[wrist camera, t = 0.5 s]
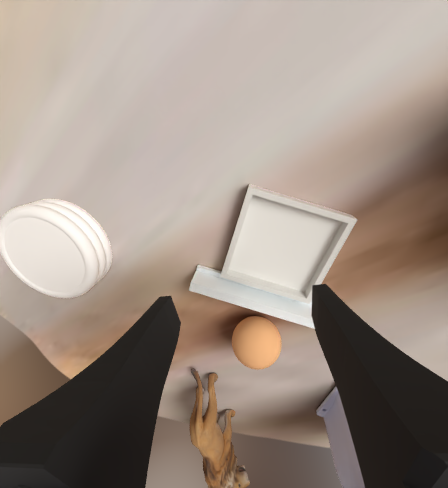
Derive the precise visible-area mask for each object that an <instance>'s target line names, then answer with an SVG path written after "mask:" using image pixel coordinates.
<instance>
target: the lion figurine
mask: <svg viewBox="0 0 448 488" xmlns="http://www.w3.org/2000/svg"><path fill="white" fill-rule="evenodd" d="M191 373H192V375H193V376H194V378H195V379H196V381H197V384H198V387H197V389H196V401H195V405H194V409H193V413H192V415H191V418H190V435H191V441H192V444H193V445H194V446H196V447H197V448H198V449H199V450H200V452H201V454H202V456H203V471H204V474H205V481H206V482H207V484H208V488H246V487H247V486H248V485H249V484H250V481H249V480H248V475H247V473H246V472H245V466H244V465H241V466H237V457H236V456H235V455H234V449H233V445H232V442H231V434H232V429H231V417H233V416H234V415H235V411H234V410H231V409H229V410H226V412H225V428H224V431H223V433H222V431H221V429H220V427H219V425H218V424H217V423H218V420H219V418H220V415H219V414H218V413H217V401H216V395H215V390H214V382H215V381H217V378H218V376H217V374H215V373H212V374H210V375H209V377H208V392H209V402H208V407H207V410H206V412H205V414H204V416H203V417H202V402H203V394H204V389H203V388H202V383H201V380H200V377H199V374H198V371H196V370H195V369H191Z"/></svg>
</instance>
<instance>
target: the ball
mask: <svg viewBox="0 0 448 488" xmlns="http://www.w3.org/2000/svg"><path fill="white" fill-rule="evenodd" d="M232 347H233V350H234V353H235V355H236V357H237V358H238V360H239V361H240V362H241V363H242V364H244V365H245V366H247V367H249V368H252V369H264V368H267V367H269V366H271V365H272V364H273V363H274V362H275V361H276V360H277V358H278V357H279V354H280V351H281V337H280V334H279V332H278V330H277V328H276V327H275V325H274V324H273V323H272V322H270V321H269V320H268V319H266V318H263V317H260V316H251V317H247V318H245V319H243V320H242V321H241V322H240V323H239V324H238V325H237V326H236V328H235V330H234V332H233V336H232Z"/></svg>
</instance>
